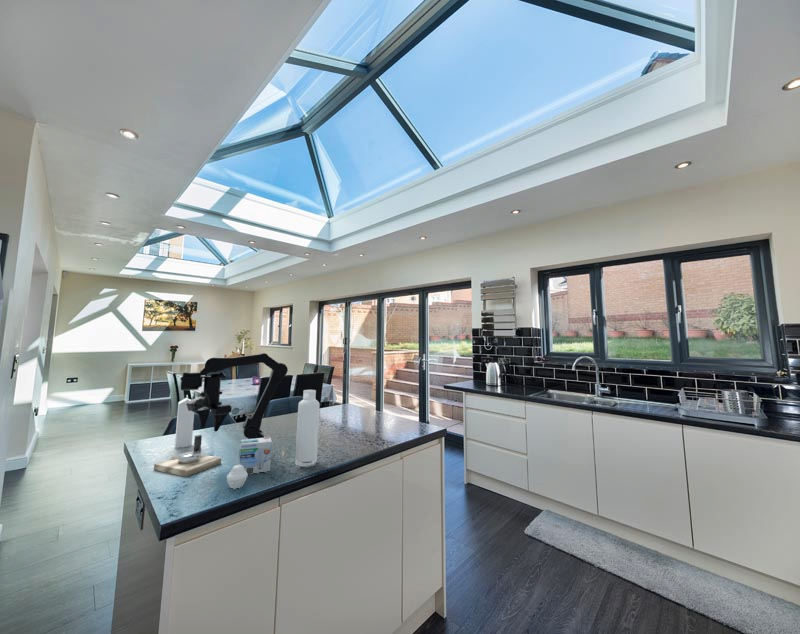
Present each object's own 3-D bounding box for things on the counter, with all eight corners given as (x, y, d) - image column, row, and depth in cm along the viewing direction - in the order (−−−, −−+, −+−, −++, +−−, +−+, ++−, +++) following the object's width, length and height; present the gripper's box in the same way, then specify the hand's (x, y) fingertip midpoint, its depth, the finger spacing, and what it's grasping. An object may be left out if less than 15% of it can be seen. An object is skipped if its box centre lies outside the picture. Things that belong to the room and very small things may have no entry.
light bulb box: (238, 476, 113) (240, 444, 114) (237, 469, 119) (239, 439, 120) (271, 471, 118) (272, 441, 119) (269, 465, 123) (270, 436, 124)
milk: (175, 448, 141) (179, 396, 142) (174, 445, 145) (178, 394, 147) (192, 446, 144) (195, 395, 146) (190, 442, 149) (194, 393, 151)
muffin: (244, 490, 102) (245, 467, 102) (222, 492, 101) (224, 468, 101) (249, 482, 108) (250, 460, 108) (229, 483, 107) (230, 461, 107)
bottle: (321, 462, 128) (324, 390, 131) (307, 469, 121) (310, 392, 123) (305, 459, 131) (308, 388, 134) (290, 465, 124) (294, 390, 127)
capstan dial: (195, 463, 118) (196, 443, 119) (173, 464, 117) (175, 443, 117) (207, 452, 129) (209, 434, 130) (188, 453, 128) (189, 435, 129)
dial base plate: (220, 463, 125) (221, 457, 125) (186, 476, 111) (186, 470, 112) (189, 457, 130) (189, 452, 130) (152, 469, 117) (153, 463, 117)
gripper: (177, 389, 127) (174, 430, 125) (204, 393, 117) (201, 438, 116) (206, 386, 136) (203, 424, 135) (233, 390, 127) (231, 431, 126)
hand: (209, 429), depth 128 cm, fingers open, 9 cm apart
